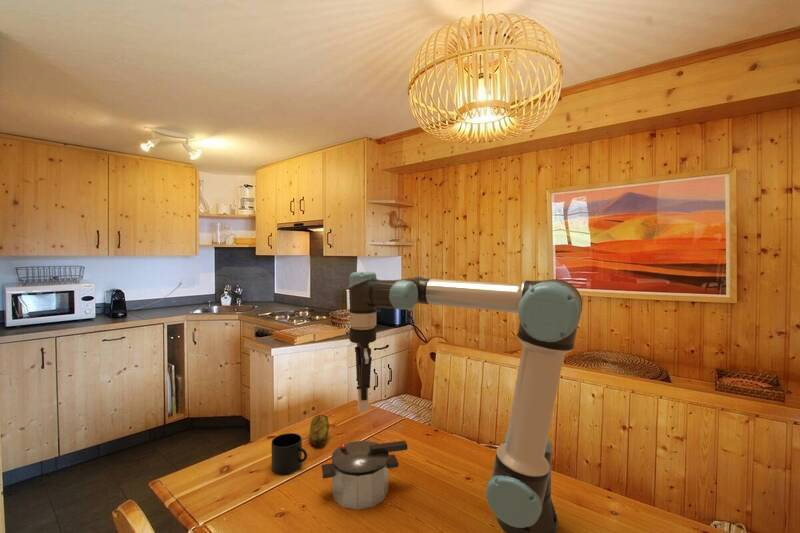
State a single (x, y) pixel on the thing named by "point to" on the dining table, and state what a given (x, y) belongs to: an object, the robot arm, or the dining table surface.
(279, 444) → the mug
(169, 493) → the dining table surface
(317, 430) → the potato
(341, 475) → the pot
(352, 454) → the lid
